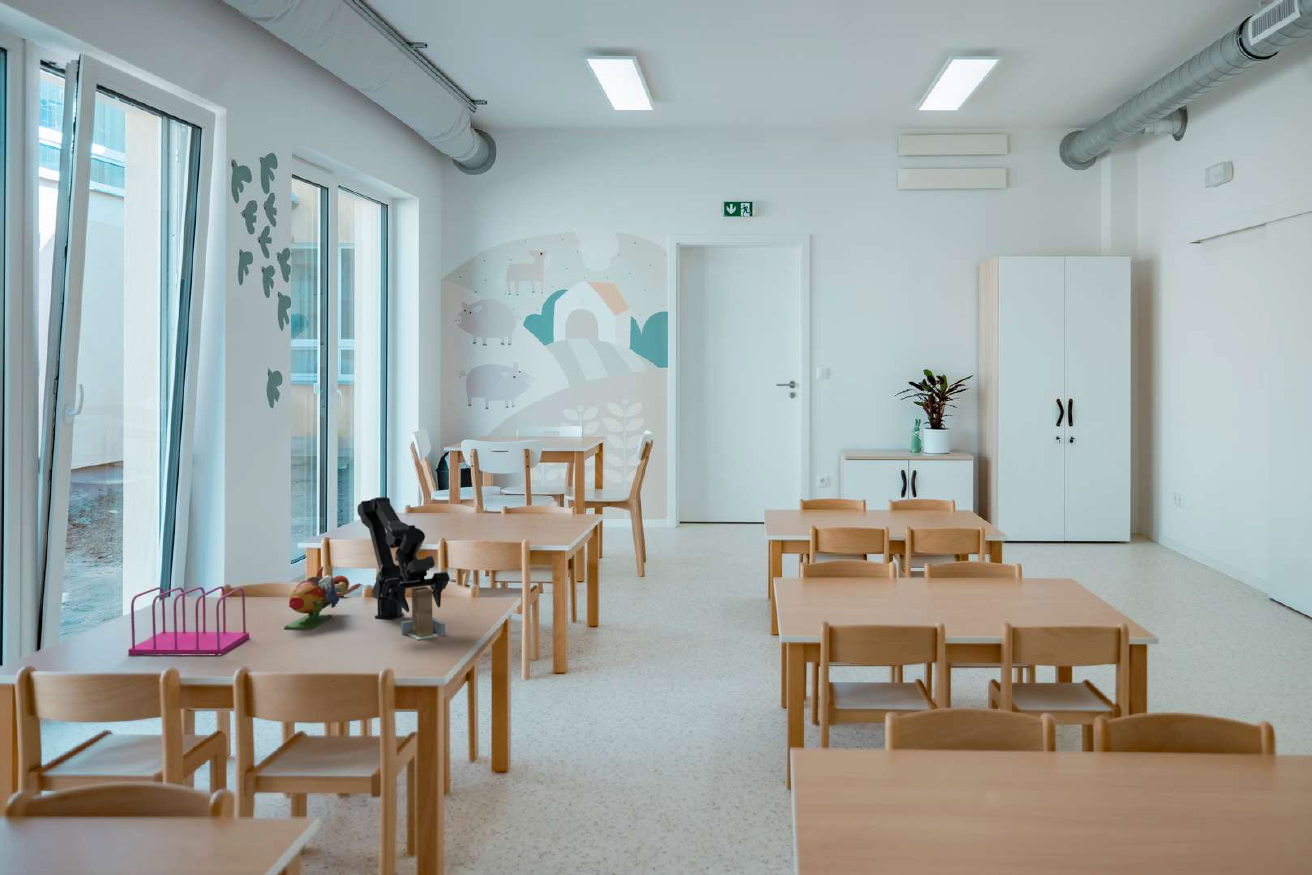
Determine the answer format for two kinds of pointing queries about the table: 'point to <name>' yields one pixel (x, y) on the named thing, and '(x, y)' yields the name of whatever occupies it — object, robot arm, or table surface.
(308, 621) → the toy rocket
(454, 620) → the table surface
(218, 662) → the table surface
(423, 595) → the walnut block
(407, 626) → the grey corner fixture
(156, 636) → the file sorter
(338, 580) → the kendama
